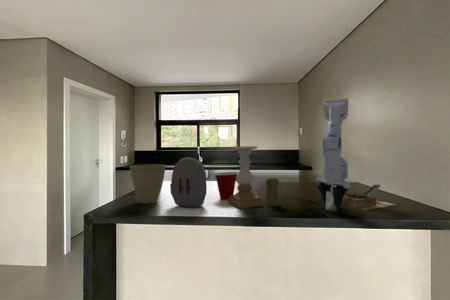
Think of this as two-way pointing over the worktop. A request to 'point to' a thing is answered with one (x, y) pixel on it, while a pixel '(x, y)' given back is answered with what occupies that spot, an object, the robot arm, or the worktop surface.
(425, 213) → the worktop surface
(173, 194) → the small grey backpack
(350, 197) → the socket board
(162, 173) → the plant pot
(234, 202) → the candle holder
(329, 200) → the steel peg
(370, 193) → the bar
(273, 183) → the cork
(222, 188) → the plastic cup
